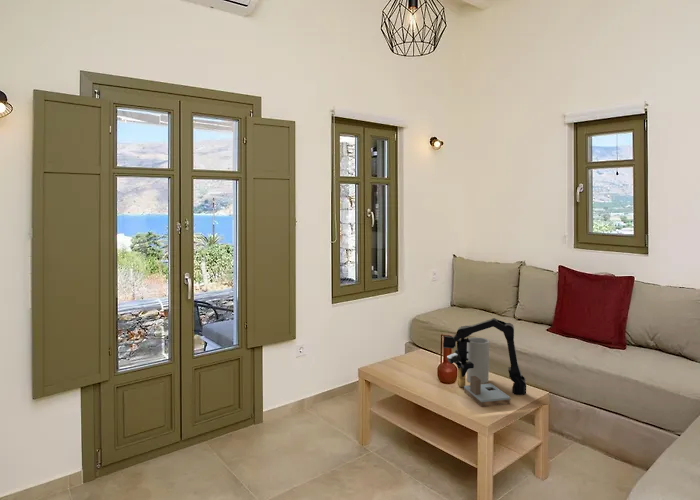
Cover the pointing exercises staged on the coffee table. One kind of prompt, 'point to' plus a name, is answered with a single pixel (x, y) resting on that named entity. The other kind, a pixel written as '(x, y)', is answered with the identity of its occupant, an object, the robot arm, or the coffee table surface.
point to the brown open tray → (489, 403)
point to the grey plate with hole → (485, 391)
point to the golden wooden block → (460, 379)
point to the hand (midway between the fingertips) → (461, 375)
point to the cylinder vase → (478, 359)
